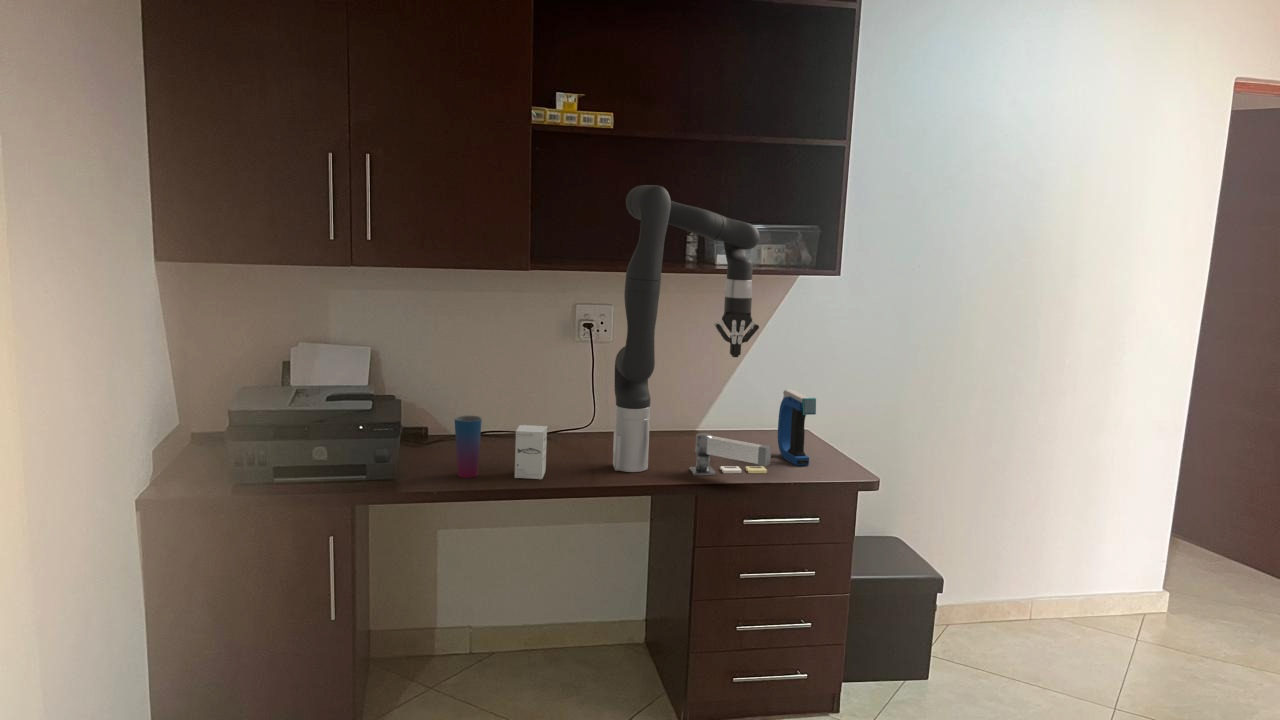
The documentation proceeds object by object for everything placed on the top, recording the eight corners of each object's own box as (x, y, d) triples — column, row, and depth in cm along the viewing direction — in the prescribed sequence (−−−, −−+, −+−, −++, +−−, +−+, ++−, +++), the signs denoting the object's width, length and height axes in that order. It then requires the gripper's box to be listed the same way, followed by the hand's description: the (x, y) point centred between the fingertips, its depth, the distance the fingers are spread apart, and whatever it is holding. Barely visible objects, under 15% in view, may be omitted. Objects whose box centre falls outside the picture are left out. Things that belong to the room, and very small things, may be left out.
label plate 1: (723, 473, 251) (723, 469, 251) (720, 469, 255) (720, 465, 255) (741, 473, 251) (741, 470, 251) (738, 469, 255) (738, 465, 255)
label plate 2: (748, 473, 252) (749, 470, 252) (745, 469, 256) (745, 465, 255) (766, 473, 252) (767, 470, 252) (763, 469, 256) (763, 466, 256)
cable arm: (692, 452, 250) (693, 435, 249) (700, 449, 253) (701, 432, 252) (763, 466, 238) (764, 448, 238) (771, 463, 242) (772, 445, 241)
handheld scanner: (798, 468, 258) (804, 398, 255) (774, 453, 273) (780, 387, 270) (813, 468, 259) (819, 398, 256) (789, 453, 275) (794, 387, 272)
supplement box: (513, 478, 239) (514, 430, 237) (518, 470, 246) (519, 423, 244) (542, 480, 238) (543, 431, 236) (546, 472, 246) (547, 425, 244)
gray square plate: (693, 475, 248) (694, 457, 247) (689, 469, 254) (690, 451, 253) (715, 475, 248) (716, 457, 248) (711, 469, 254) (712, 451, 254)
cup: (455, 471, 243) (456, 415, 241) (482, 471, 244) (482, 415, 241) (452, 478, 237) (452, 421, 234) (479, 479, 237) (480, 421, 235)
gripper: (717, 296, 256) (714, 358, 259) (764, 297, 258) (761, 359, 261) (712, 293, 264) (709, 354, 266) (758, 294, 265) (754, 355, 268)
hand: (735, 356), depth 263 cm, fingers closed
